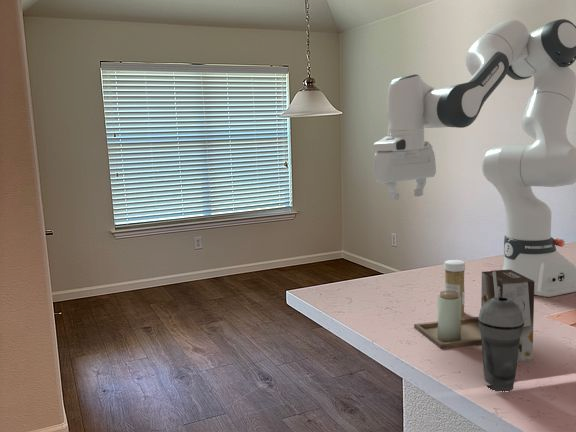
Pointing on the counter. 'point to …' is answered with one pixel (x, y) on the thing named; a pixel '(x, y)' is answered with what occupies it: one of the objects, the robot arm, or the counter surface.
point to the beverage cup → (500, 340)
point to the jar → (449, 316)
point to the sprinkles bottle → (455, 278)
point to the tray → (468, 337)
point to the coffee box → (520, 294)
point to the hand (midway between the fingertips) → (406, 198)
